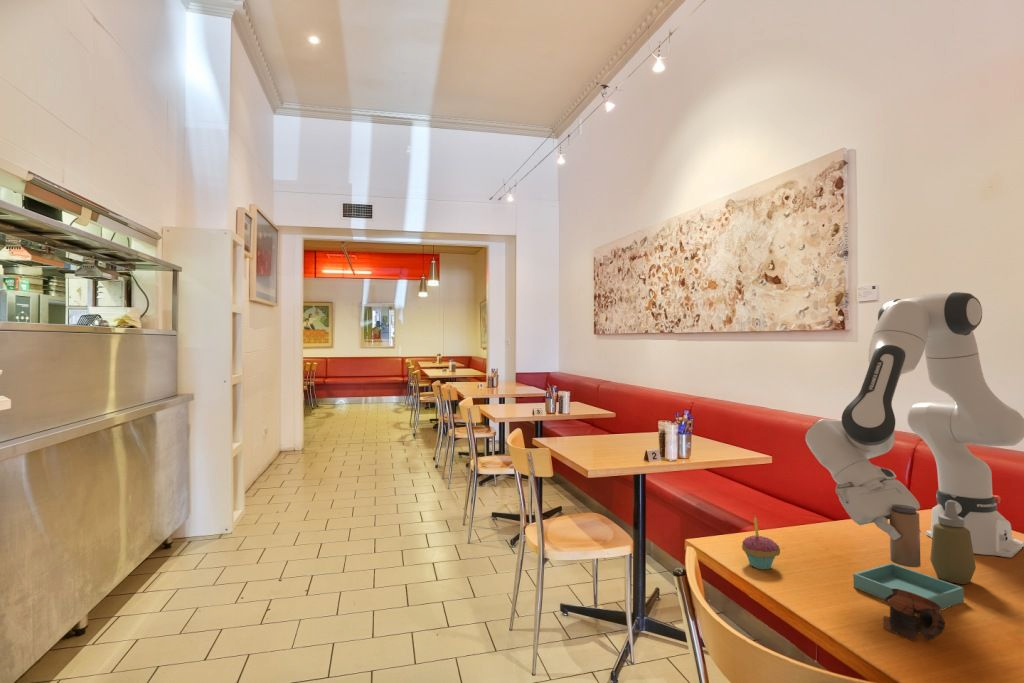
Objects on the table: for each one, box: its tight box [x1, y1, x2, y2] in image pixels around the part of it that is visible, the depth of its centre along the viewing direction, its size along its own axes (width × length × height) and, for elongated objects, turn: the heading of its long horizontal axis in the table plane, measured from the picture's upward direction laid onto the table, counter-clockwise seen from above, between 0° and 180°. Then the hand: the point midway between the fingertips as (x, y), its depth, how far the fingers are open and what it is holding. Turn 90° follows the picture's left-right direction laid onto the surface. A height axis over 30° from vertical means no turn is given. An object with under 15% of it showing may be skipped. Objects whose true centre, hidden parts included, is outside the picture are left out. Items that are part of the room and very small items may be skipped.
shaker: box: [889, 504, 922, 568], centre depth 111 cm, size 5×5×12 cm
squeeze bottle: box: [929, 501, 977, 585], centre depth 118 cm, size 8×8×18 cm
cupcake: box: [741, 514, 781, 570], centre depth 126 cm, size 9×8×12 cm
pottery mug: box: [882, 589, 946, 643], centre depth 95 cm, size 12×10×8 cm
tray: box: [852, 562, 965, 611], centre depth 110 cm, size 14×14×3 cm
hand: (907, 536), depth 110 cm, fingers closed on shaker, 5 cm apart
